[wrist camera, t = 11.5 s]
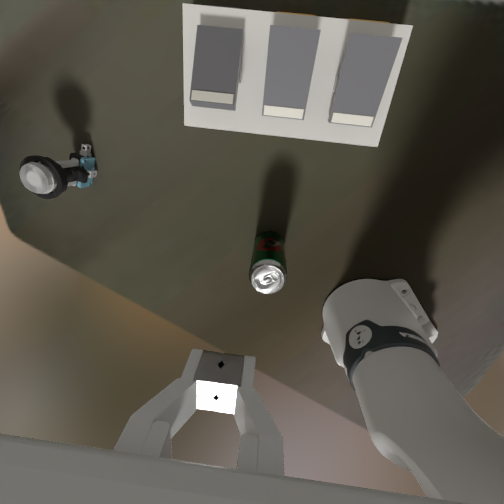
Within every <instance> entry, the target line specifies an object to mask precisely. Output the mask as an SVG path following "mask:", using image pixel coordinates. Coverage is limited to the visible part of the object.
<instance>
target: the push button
mask: <svg viewBox="0 0 504 504" xmlns="http://www.w3.org/2000/svg"><path fill="white" fill-rule="evenodd" d="M83 147H85V150H84V149H83ZM87 147H89V149H87ZM90 152H91V145H88V144H86V145H84V144H82V145H81V151H80V154H79V153H71V154H70V159H69V160H64V161H53V160H52V159H50V158H48V157H42V156H28V157H26V158H24V159H23V160H22V162H21V164H20V178H21V181H22V182H23V184H24V186H25V187H26V188H28V189H29V190H30V191H31V192H32V193H34V194H35V195H37V196H39V197H41V198H45V199H52V198H55V197H57V196H59V195H60V194H61V193H62V192H64V191H66V189H67V186H71V185H72V186H78V187H80V188H84V187H88V186H91V185H92V179H93V177H96V176H97V170H95V171H94V165H95V158H93V157H91V153H90ZM39 161H40V162H42V163H38V162H39ZM94 173H95V175H94ZM53 190H55V191H54V192H52V191H53Z"/></svg>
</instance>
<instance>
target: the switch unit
mask: <svg viewBox="0 0 504 504" xmlns="http://www.w3.org/2000/svg"><path fill="white" fill-rule="evenodd" d="M197 25H205V26H215V27H226V28H236V29H243V35H244V41H243V50H242V58H241V67H240V75H239V84H238V92H237V101H236V110H235V111H232V110H223V109H214V108H205V107H196V106H192V105H191V103H190V101H189V99H190V89H191V80H192V70H193V61H194V52H195V42H196V33H197ZM270 25H277V26H287V27H297V28H307V29H318V30H321V31H320V37H319V42H318V47H317V52H316V58H315V63H314V68H313V73H312V79H311V84H310V89H309V95H308V100H307V105H306V110H305V116H304V120H298V119H289V118H280V117H271V116H262V108H263V97H264V86H265V75H266V64H267V53H268V43H269V32H270ZM412 27H413V26H412V25H401V24H391V23H390V22H382V21H372V20H361V19H351V18H349V19H339V18H329V17H319V16H316V15H310V14H299V13H289V12H279V11H276V12H267V11H257V10H246V9H244V8H237V7H227V6H217V5H206V4H205V5H195V4H184V3H183V62H184V125H185V126H192V127H201V128H210V129H219V130H228V131H237V132H246V133H255V134H264V135H273V136H282V137H291V138H300V139H309V140H318V141H327V142H336V143H345V144H354V145H363V146H373V147H378V144H379V140H380V137H381V134H382V130H383V127H384V123H385V120H386V116H387V113H388V110H389V106H390V103H391V99H392V96H393V92H394V89H395V86H396V82H397V79H398V75H399V72H400V68H401V65H402V62H403V58H404V55H405V51H406V48H407V45H408V41H409V38H410V34H411V31H412ZM349 33H359V34H369V35H380V36H390V37H400V38H402V41H401V44H400V47H399V50H398V53H397V56H396V59H395V62H394V65H393V67H392V70H391V73H390V76H389V79H388V82H387V85H386V88H385V91H384V94H383V97H382V99H381V102H380V105H379V108H378V111H377V114H376V117H375V120H374V123H373V126H372V128H371V127H362V126H353V125H344V124H335V123H329V122H328V118H329V114H330V109H331V105H332V101H333V97H334V93H335V89H336V84H337V80H338V76H339V72H340V68H341V64H342V59H343V55H344V51H345V47H346V43H347V39H348V35H349Z"/></svg>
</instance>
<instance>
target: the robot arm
mask: <svg viewBox="0 0 504 504" xmlns="http://www.w3.org/2000/svg"><path fill="white" fill-rule="evenodd" d="M403 290H405V291H403ZM402 291H403V292H402ZM323 321H324V326H323V329H322V332H321V336H322V339H323V340H324V341H325V342H327V343H328V344H330V346H331V348H332V351H333V354H334V356H335V359H336V361H337V363H338V364H339V365H340V366H342V367H344V368H345V372H346V375H347V378H348V380H349V382H350V384H351V386H352V388H353V389H354V390H355V391H356V394H357V397H358V400H359V403H360V406H361V409H362V412H363V415H364V418H365V421H366V424H367V427H368V430H369V433H370V437H371V439H372V441H373V443H374V445H375V446H376V448H377V449H378V450H379V451H380V452H381V454H382V455H384V456H385V457H386V458H387V459H389V460H390V461H392V462H393V463H395V464H396V465H398V466H400V467H402V468H404V469H406V470H409V471H411V472H412V473H413V474H414V476H415V477H416V479H417V480H418V482H419V484H420V486H421V487H422V489H423V491H424V492H425V494H426V496H427V497H421V496H415V495H408V494H401V493H394V492H388V491H381V490H374V489H368V488H361V487H354V486H347V485H341V484H334V483H327V482H321V481H314V480H307V479H301V478H294V477H287V476H284V453H283V437H282V435H281V433H280V432H279V430H278V428H277V426H276V424H275V422H274V421H273V419H272V417H271V415H270V413H269V411H268V410H267V408H266V406H265V404H264V402H263V400H262V399H261V397H260V395H259V393H258V391H257V390H256V389H253V385H254V373H255V360H256V358H255V357H251V356H245V358H244V355H236V354H228V353H219V352H213V351H206V350H199V349H192V351H191V353H190V356H189V358H188V361H187V364H186V366H185V369H184V371H183V374H182V376H181V379H179V378H177V379H176V380H175V381H173V382H172V383H171V384H170V385H168V386H167V387H166V388H165V389H164V390H162V391H161V392H160V393H158V394H157V395H156V396H155V397H154V398H152V399H151V400H150V401H149V402H147V403H146V404H145V405H144V406H142V407H141V408H140V409H139V410H137V411H136V412H135V413H134V414H132V415H131V417H130V419H129V421H128V423H127V425H126V426H125V429H124V430H123V432H122V434H121V436H120V438H119V440H118V442H117V444H116V446H115V448H114V450H107V449H100V448H93V447H87V446H80V445H74V444H66V443H59V442H53V441H47V440H40V439H33V438H27V437H20V436H14V435H7V434H0V504H504V436H502V435H501V434H499V433H498V432H496V431H495V430H494V429H493V428H492V427H490V426H489V425H488V424H487V423H486V422H485V421H484V420H482V419H481V418H480V417H479V416H478V415H477V414H476V412H475V411H474V410H473V409H472V408H471V407H470V406H469V404H468V403H467V402H466V401H465V400H464V398H463V397H462V396H461V395H460V393H459V392H458V391H457V389H456V388H455V387H454V386H453V384H452V383H451V382H450V380H449V379H448V378H447V377H446V375H445V374H444V373H443V371H442V370H441V369H440V364H439V361H438V359H437V356H438V352H437V351H436V349H435V347H434V346H433V344H432V343H433V342H434V341H435V339H436V338H437V336H438V331H437V330H436V329H435V327H434V326H433V325H432V323H431V321H430V320H429V318H428V316H427V315H426V313H425V311H424V310H423V308H422V306H421V305H420V303H419V301H418V299H417V298H416V296H415V294H414V293H413V291H412V289H411V288H410V286H409V284H408V283H407V281H406V280H404V279H394V280H389V281H381V280H375V279H360V280H355V281H351V282H349V283H346V284H344V285H342V286H340V287H339V288H337V289H336V290H335V291H334V292H333V293H332V294H331V295H330V296H329V297H328V298H327V300H326V302H325V304H324V307H323ZM196 409H202V410H203V409H204V410H211V411H218V412H224V413H230V414H234V417H235V420H236V422H237V425H238V428H239V431H240V433H241V439H240V447H239V454H238V461H237V468H236V469H234V468H228V467H221V466H214V465H208V464H201V463H194V462H187V461H181V460H174V459H172V448H171V438H172V437H173V436H174V435H175V434H176V433H177V431H178V430H179V429H180V428H181V427H182V426H183V425H184V423H185V422H186V421H187V420H188V419H189V418H190V417H191V415H192V414H193V413H194V412H195V411H196Z"/></svg>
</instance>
